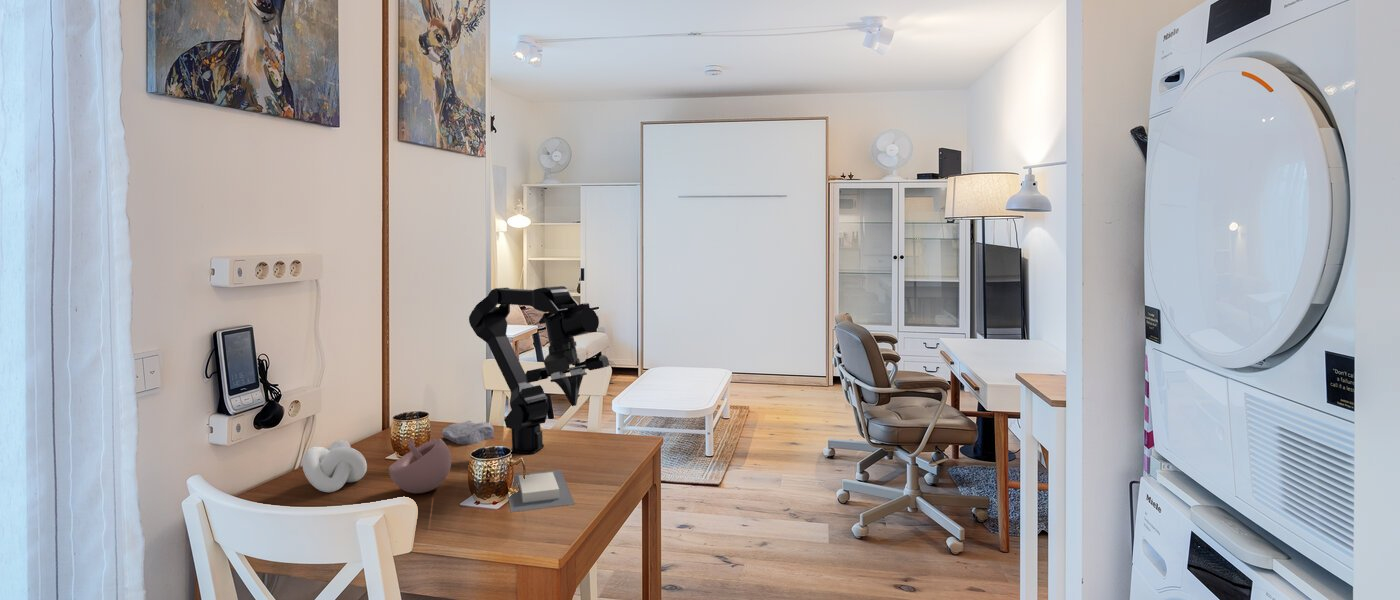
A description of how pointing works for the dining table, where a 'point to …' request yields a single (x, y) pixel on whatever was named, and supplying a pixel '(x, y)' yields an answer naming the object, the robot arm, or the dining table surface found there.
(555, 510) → the dining table surface
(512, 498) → the mat
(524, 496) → the tile
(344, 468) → the white knot sculpture
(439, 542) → the dining table surface
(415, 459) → the mortar and pestle
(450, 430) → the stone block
